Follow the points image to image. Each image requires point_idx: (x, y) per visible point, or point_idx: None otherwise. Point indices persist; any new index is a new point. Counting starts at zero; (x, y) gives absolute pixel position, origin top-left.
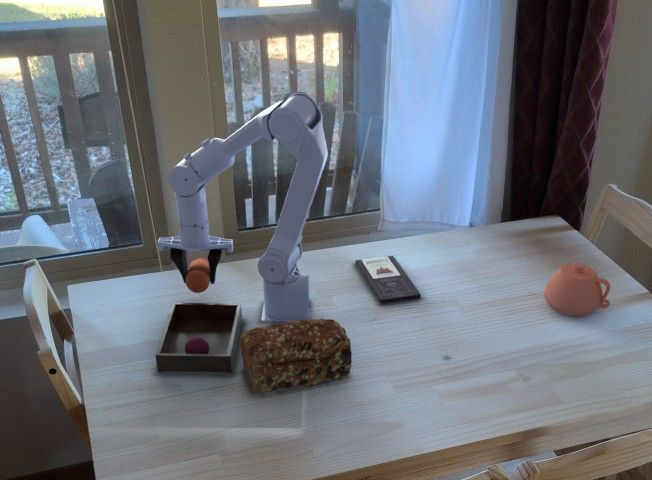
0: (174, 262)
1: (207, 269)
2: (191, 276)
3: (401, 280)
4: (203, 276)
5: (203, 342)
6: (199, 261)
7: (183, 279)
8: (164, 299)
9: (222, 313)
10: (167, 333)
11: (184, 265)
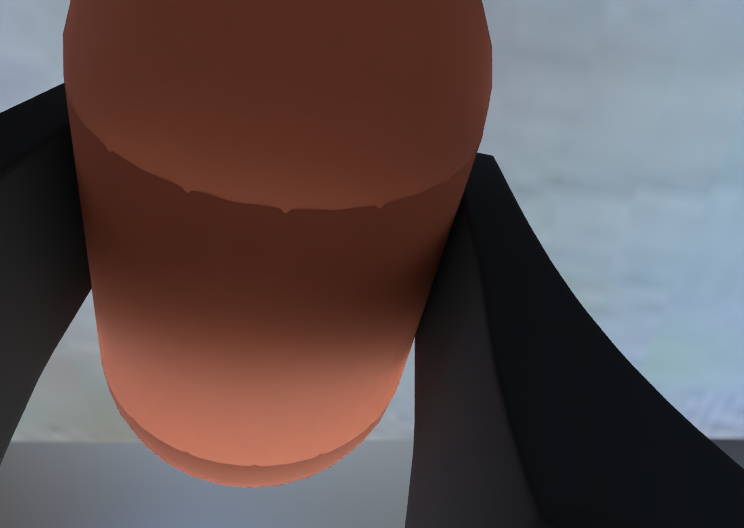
0: (706, 447)
1: (93, 259)
2: (356, 57)
3: None
4: (100, 30)
5: None
6: (218, 428)
7: (506, 184)
8: (695, 124)
9: None
10: None
11: (465, 371)
